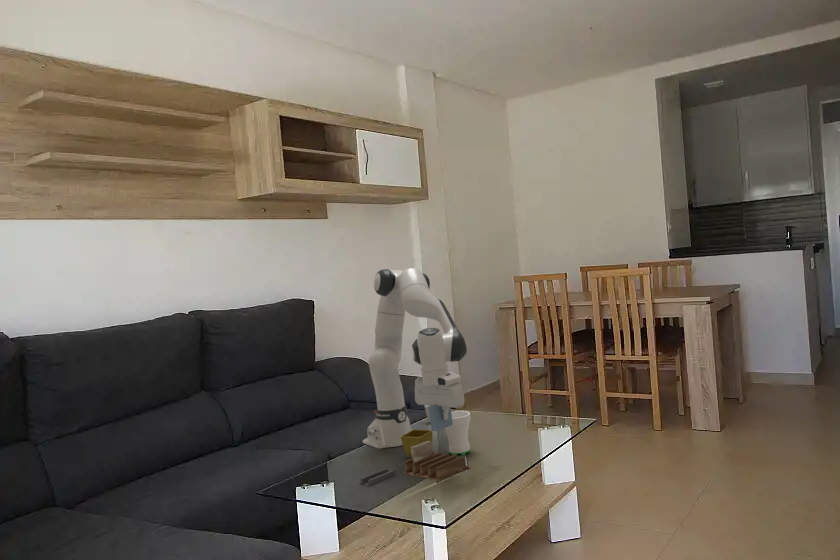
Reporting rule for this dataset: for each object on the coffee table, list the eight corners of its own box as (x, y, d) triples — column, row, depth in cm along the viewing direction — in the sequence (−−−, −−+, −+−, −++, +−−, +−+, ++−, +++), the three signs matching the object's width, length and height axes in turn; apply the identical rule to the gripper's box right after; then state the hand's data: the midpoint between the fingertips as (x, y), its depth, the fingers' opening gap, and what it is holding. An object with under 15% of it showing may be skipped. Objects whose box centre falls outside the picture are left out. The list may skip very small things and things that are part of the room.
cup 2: (473, 456, 238) (468, 417, 238) (442, 459, 241) (437, 419, 240) (476, 447, 249) (472, 409, 249) (447, 449, 252) (442, 412, 251)
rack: (403, 475, 228) (399, 449, 228) (434, 461, 238) (431, 437, 238) (437, 482, 216) (434, 455, 216) (469, 468, 226) (466, 442, 226)
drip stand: (359, 485, 223) (358, 477, 223) (385, 475, 231) (383, 467, 231) (372, 489, 218) (371, 481, 218) (398, 478, 226) (397, 470, 225)
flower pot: (423, 461, 240) (420, 437, 240) (403, 460, 245) (399, 436, 245) (435, 454, 248) (432, 430, 248) (416, 453, 252) (412, 429, 252)
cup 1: (453, 419, 298) (450, 401, 297) (446, 424, 290) (444, 405, 290) (430, 419, 302) (428, 402, 302) (423, 424, 295) (421, 406, 295)
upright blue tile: (431, 430, 220) (428, 406, 220) (448, 424, 226) (445, 400, 226) (435, 431, 219) (432, 407, 219) (452, 424, 224) (449, 401, 224)
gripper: (407, 378, 228) (413, 419, 228) (450, 380, 213) (456, 423, 213) (421, 374, 232) (426, 414, 232) (464, 376, 217) (470, 418, 217)
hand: (441, 418), depth 222 cm, fingers closed on upright blue tile, 2 cm apart
